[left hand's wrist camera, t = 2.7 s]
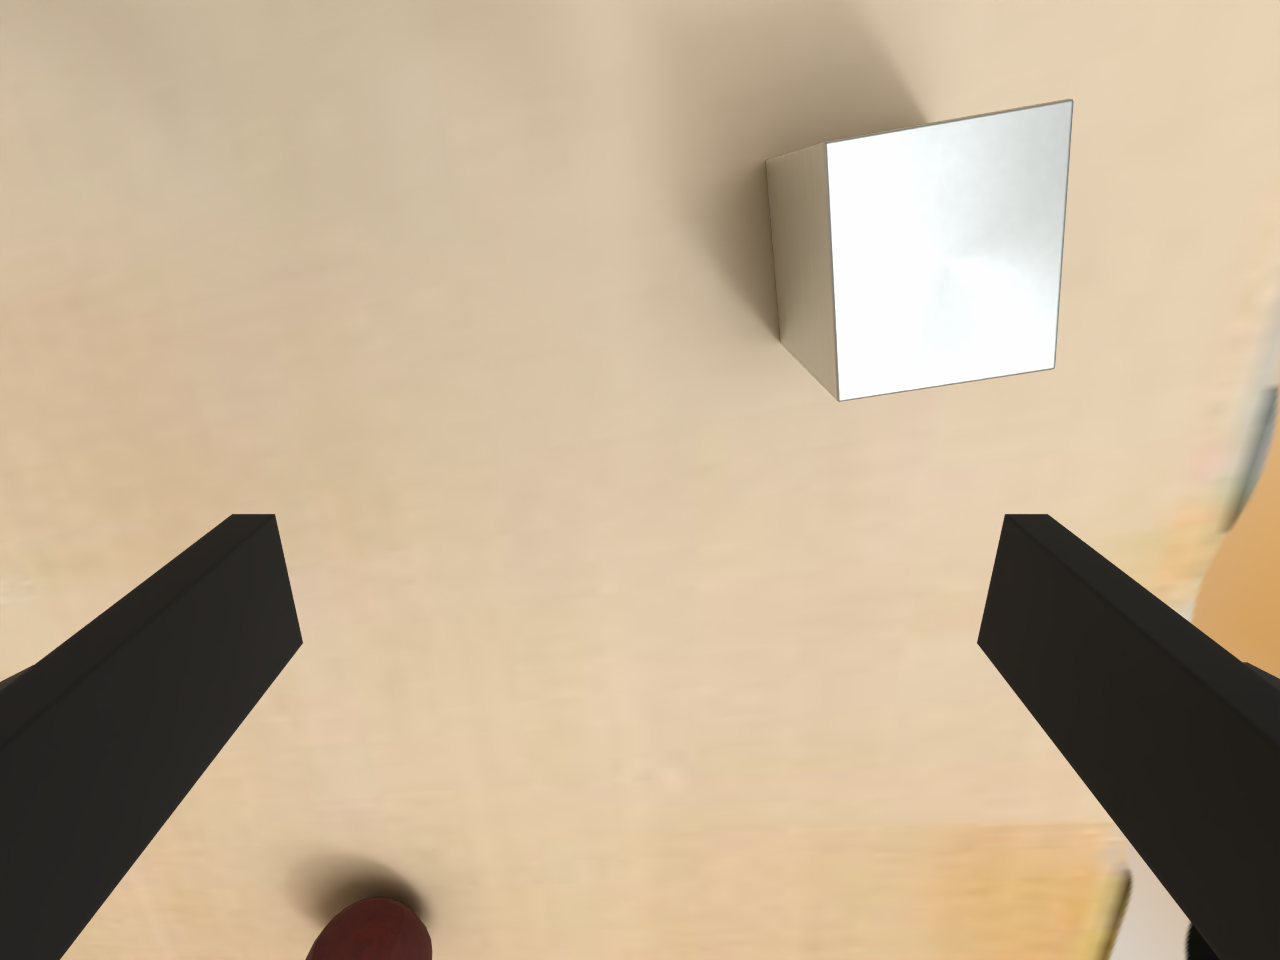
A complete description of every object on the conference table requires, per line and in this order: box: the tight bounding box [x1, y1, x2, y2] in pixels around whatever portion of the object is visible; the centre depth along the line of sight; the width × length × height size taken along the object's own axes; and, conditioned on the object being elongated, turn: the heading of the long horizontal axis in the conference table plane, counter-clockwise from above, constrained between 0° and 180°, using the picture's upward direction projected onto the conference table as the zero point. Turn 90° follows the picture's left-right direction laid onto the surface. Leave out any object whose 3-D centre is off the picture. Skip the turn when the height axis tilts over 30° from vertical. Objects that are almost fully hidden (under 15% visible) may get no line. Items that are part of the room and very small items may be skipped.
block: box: [766, 99, 1073, 402], centre depth 25 cm, size 8×7×10 cm
